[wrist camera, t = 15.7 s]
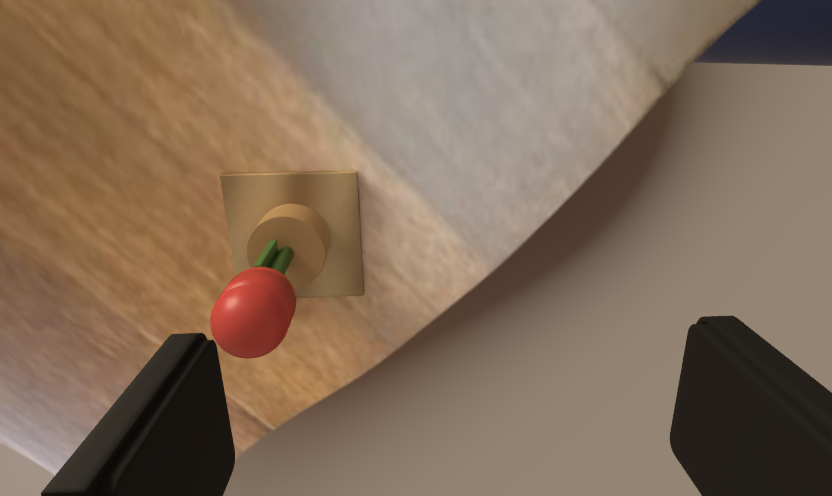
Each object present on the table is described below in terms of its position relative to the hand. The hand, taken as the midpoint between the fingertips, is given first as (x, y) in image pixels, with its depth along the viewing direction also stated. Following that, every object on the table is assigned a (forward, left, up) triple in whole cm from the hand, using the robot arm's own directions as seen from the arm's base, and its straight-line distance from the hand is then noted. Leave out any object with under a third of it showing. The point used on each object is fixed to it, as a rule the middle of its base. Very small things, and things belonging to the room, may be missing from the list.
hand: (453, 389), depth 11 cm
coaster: (+8, +6, -27) cm, 28 cm away
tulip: (+8, +6, -26) cm, 28 cm away
